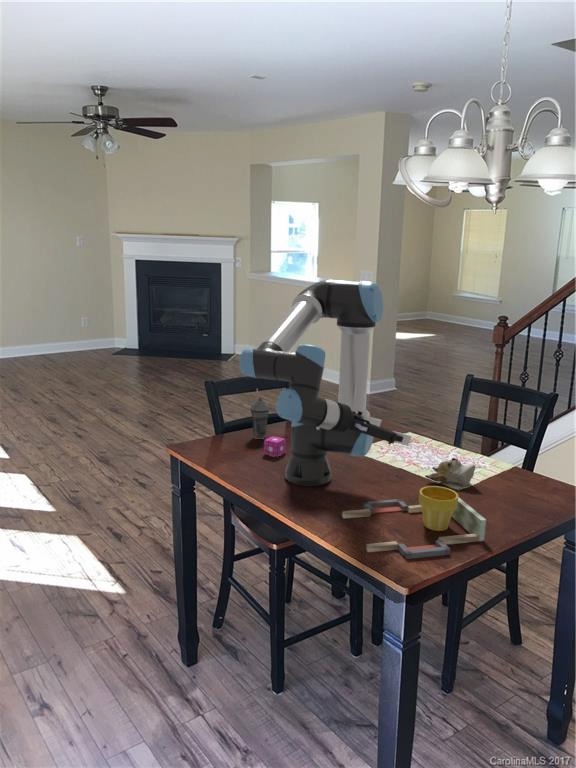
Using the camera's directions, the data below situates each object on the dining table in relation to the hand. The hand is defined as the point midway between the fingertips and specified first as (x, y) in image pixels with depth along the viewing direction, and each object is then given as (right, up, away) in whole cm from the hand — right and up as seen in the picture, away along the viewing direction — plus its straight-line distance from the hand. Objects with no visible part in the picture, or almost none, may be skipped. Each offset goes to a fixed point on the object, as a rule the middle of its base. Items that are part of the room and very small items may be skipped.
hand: (393, 432), depth 169 cm
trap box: (+4, -26, 0) cm, 27 cm away
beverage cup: (-40, -8, +73) cm, 83 cm away
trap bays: (+2, -26, 0) cm, 26 cm away
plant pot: (+12, -26, +2) cm, 29 cm away
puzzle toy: (-34, -13, +55) cm, 66 cm away
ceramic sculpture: (+24, -19, +34) cm, 46 cm away
